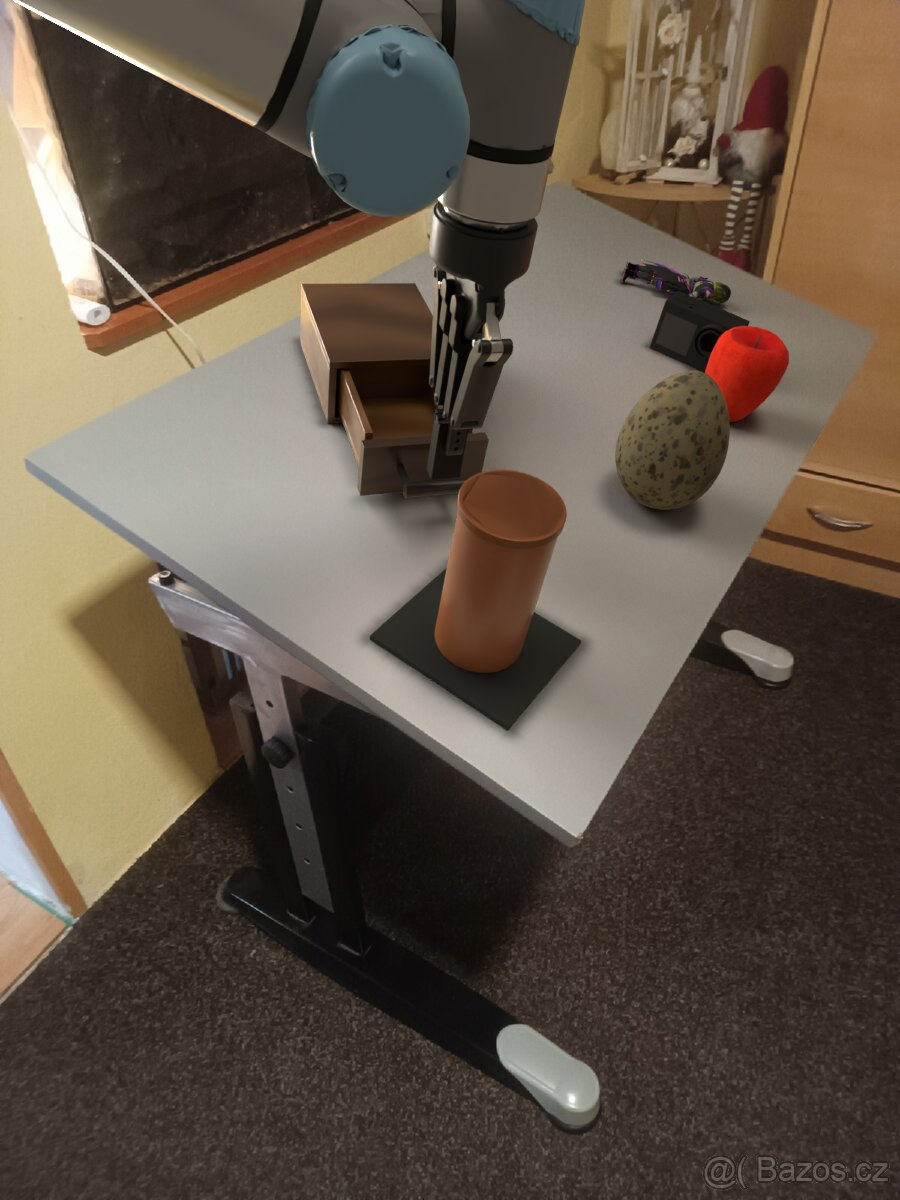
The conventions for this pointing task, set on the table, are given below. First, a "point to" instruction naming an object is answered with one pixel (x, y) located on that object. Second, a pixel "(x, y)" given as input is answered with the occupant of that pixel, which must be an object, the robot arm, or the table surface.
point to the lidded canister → (496, 567)
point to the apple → (747, 367)
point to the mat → (485, 692)
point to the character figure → (677, 281)
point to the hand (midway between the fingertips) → (443, 473)
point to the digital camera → (691, 329)
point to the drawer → (397, 431)
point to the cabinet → (361, 331)
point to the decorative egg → (674, 441)
